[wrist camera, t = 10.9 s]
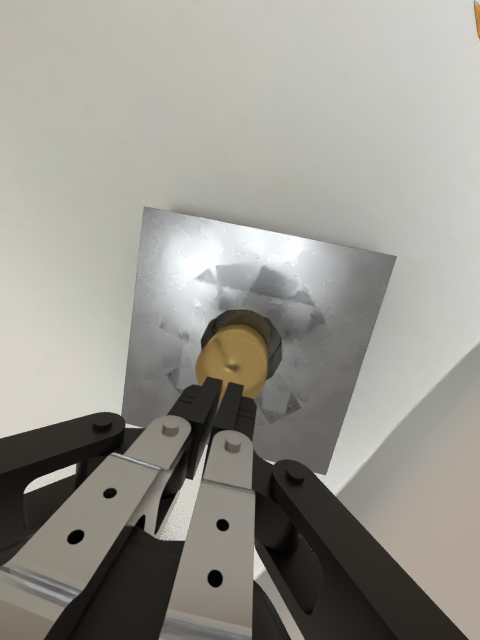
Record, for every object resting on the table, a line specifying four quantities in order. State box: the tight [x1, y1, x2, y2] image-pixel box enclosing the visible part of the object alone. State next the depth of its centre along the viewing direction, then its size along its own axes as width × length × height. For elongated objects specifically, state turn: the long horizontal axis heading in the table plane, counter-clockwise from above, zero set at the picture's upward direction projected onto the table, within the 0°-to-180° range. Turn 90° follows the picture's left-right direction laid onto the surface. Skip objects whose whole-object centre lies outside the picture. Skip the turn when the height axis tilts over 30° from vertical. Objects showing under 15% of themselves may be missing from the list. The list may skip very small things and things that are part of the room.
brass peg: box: [195, 310, 270, 403], centre depth 20 cm, size 4×4×8 cm
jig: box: [121, 206, 397, 475], centre depth 22 cm, size 16×16×4 cm
